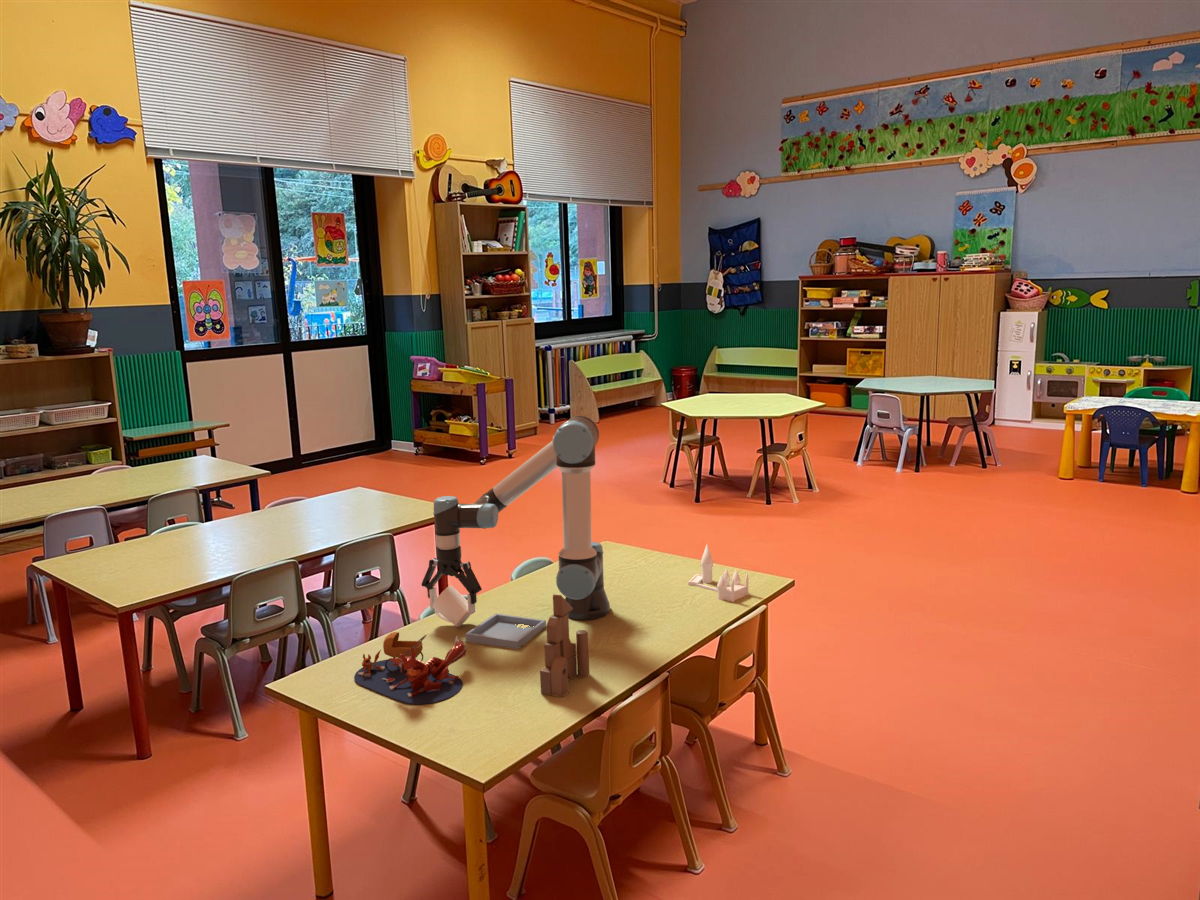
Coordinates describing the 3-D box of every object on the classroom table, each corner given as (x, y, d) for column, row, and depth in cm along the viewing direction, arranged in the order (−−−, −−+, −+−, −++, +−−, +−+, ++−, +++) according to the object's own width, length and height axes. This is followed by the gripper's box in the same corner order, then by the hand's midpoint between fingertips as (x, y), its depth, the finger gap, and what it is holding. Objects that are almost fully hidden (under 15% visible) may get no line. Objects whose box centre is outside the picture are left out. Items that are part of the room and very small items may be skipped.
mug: (479, 602, 280) (455, 581, 282) (465, 613, 272) (441, 591, 274) (463, 626, 285) (439, 605, 286) (449, 637, 276) (424, 615, 278)
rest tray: (546, 628, 276) (545, 620, 276) (518, 650, 260) (517, 641, 260) (496, 621, 284) (495, 613, 283) (465, 641, 267) (465, 633, 267)
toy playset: (340, 677, 247) (335, 629, 244) (414, 646, 267) (411, 601, 264) (422, 711, 225) (419, 659, 222) (496, 674, 245) (494, 626, 242)
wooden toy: (562, 698, 229) (558, 606, 224) (540, 693, 232) (536, 602, 227) (591, 675, 242) (588, 587, 238) (570, 670, 245) (567, 584, 241)
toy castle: (698, 582, 316) (698, 538, 313) (756, 597, 298) (757, 551, 296) (672, 592, 306) (671, 547, 303) (731, 609, 288) (731, 561, 286)
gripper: (489, 546, 273) (493, 611, 277) (421, 539, 283) (426, 602, 287) (477, 553, 266) (481, 619, 270) (407, 546, 277) (412, 610, 281)
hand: (452, 611), depth 279 cm, fingers closed on mug, 13 cm apart
